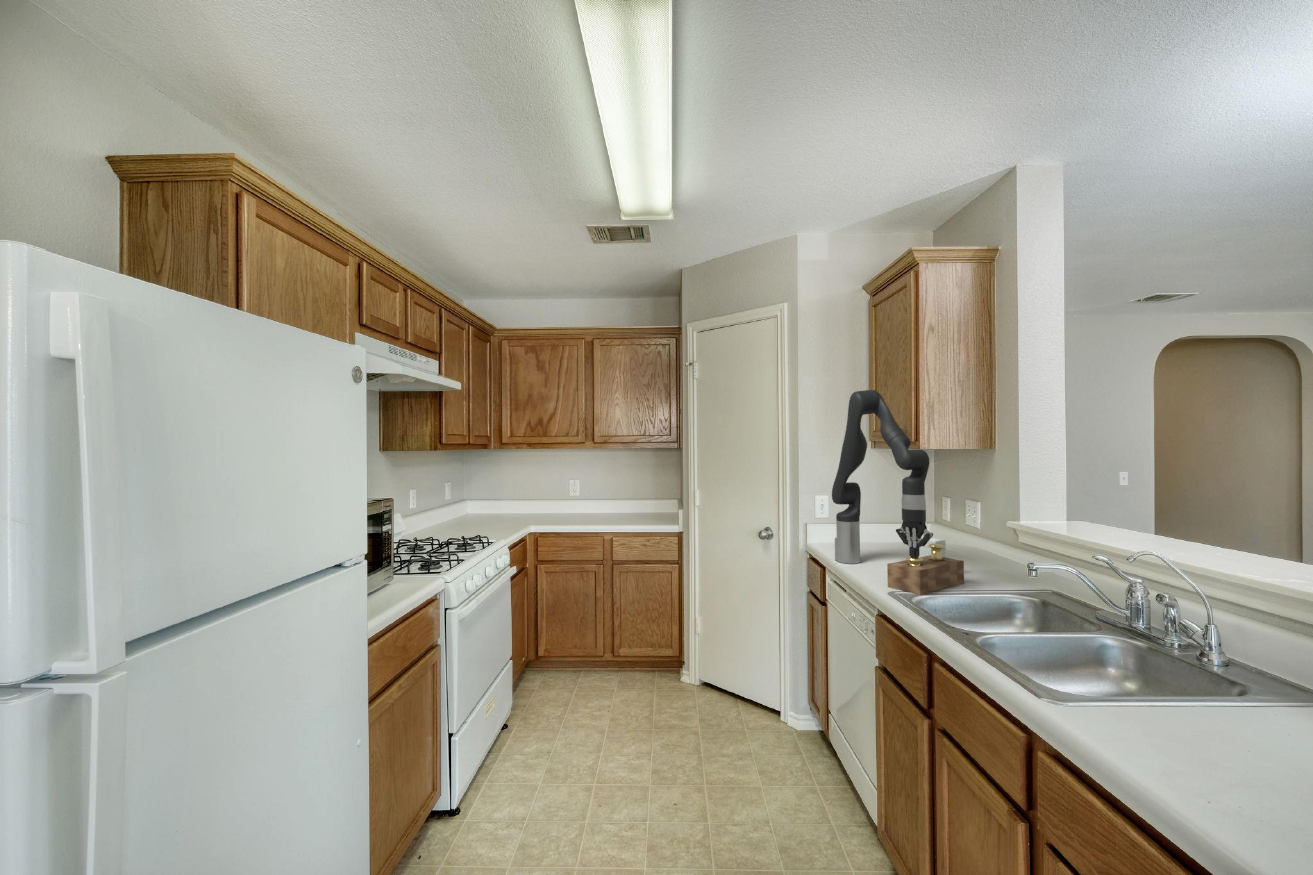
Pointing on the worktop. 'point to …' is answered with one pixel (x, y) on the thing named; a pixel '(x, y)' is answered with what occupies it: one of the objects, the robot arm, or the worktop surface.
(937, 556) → the plunger
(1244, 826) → the worktop surface
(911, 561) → the plunger
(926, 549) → the small box
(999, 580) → the worktop surface
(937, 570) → the socket block
